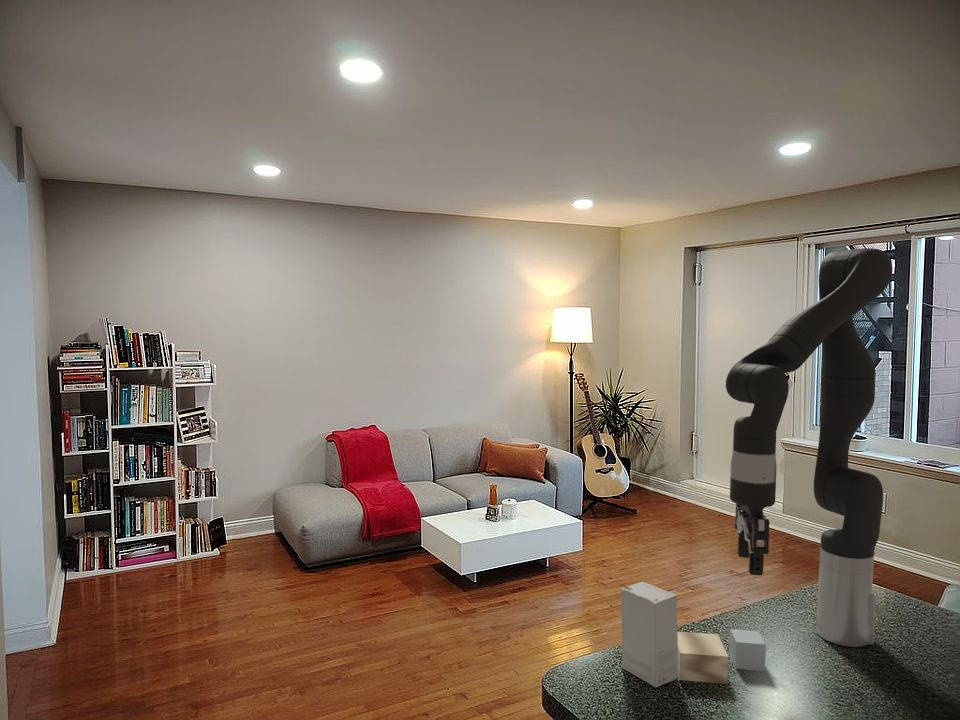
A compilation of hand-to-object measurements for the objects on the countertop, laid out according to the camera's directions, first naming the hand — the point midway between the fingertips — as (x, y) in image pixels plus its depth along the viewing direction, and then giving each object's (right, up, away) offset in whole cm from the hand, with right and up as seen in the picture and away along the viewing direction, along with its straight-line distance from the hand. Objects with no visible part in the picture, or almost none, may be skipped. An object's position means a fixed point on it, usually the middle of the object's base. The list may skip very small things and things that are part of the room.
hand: (749, 565), depth 121 cm
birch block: (-10, -18, -1) cm, 21 cm away
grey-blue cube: (0, -18, +1) cm, 18 cm away
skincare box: (-19, -18, -3) cm, 26 cm away
